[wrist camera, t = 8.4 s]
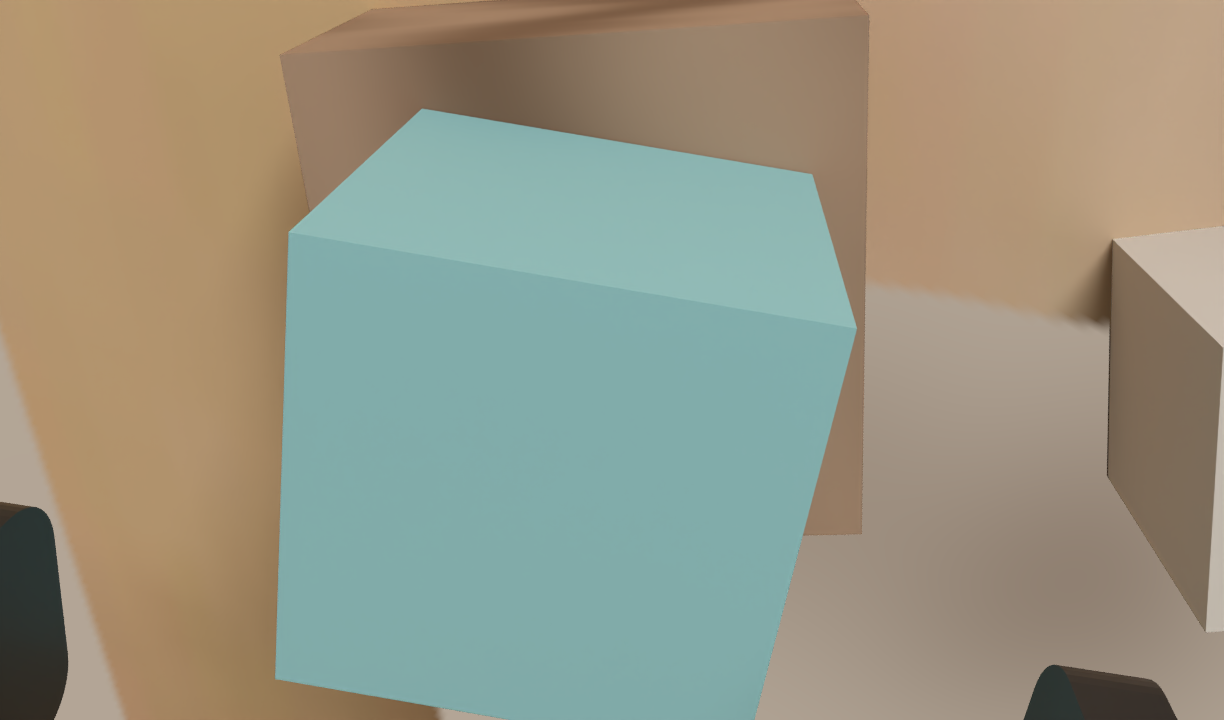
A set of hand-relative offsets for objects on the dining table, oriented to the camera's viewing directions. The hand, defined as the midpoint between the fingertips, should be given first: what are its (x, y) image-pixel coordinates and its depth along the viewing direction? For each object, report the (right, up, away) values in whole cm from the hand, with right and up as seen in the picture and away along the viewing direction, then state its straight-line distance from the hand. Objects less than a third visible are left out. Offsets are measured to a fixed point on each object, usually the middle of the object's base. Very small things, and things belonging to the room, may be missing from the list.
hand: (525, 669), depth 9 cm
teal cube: (0, +3, +8) cm, 8 cm away
